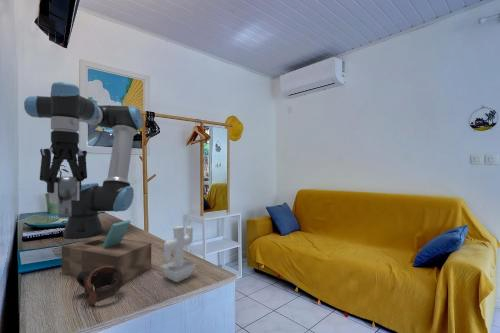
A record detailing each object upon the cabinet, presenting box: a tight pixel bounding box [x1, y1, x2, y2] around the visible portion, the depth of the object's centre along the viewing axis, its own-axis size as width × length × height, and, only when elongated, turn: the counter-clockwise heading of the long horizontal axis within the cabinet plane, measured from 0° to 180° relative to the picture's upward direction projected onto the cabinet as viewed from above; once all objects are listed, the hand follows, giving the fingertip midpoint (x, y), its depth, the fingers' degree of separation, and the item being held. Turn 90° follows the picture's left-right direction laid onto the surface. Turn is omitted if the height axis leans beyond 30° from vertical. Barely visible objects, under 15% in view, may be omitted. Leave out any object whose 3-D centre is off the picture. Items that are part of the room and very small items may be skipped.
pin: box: [54, 176, 77, 219], centre depth 84 cm, size 6×6×13 cm
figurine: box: [160, 225, 197, 283], centre depth 75 cm, size 7×9×15 cm
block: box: [61, 234, 152, 283], centre depth 79 cm, size 13×22×8 cm, turn 70°
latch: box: [102, 219, 132, 248], centre depth 78 cm, size 6×8×1 cm
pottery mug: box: [76, 266, 125, 306], centre depth 64 cm, size 12×10×8 cm
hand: (64, 201), depth 84 cm, fingers closed on pin, 6 cm apart
